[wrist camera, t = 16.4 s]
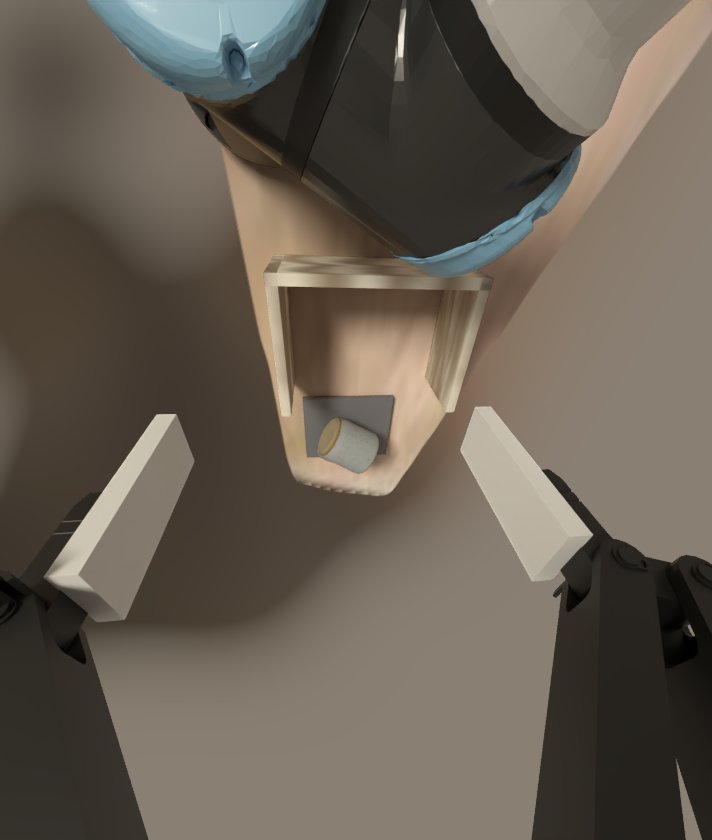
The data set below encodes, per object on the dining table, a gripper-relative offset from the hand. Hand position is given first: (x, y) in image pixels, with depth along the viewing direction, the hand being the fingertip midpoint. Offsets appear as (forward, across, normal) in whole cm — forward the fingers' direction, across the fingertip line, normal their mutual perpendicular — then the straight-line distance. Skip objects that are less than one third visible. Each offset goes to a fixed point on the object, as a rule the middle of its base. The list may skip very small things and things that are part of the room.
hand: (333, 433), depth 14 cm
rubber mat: (+32, +4, -25) cm, 41 cm away
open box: (+32, +6, -6) cm, 33 cm away
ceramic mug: (+31, +3, -27) cm, 41 cm away
